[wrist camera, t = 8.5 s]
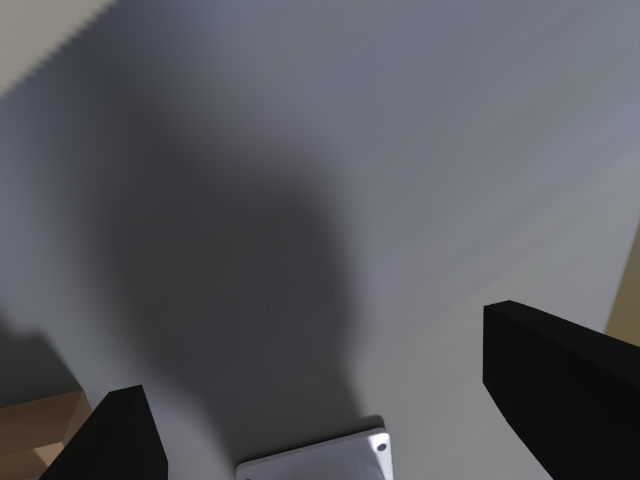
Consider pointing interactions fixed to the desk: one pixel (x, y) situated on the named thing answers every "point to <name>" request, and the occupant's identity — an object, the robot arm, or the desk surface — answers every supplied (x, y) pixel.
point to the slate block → (33, 478)
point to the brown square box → (38, 433)
